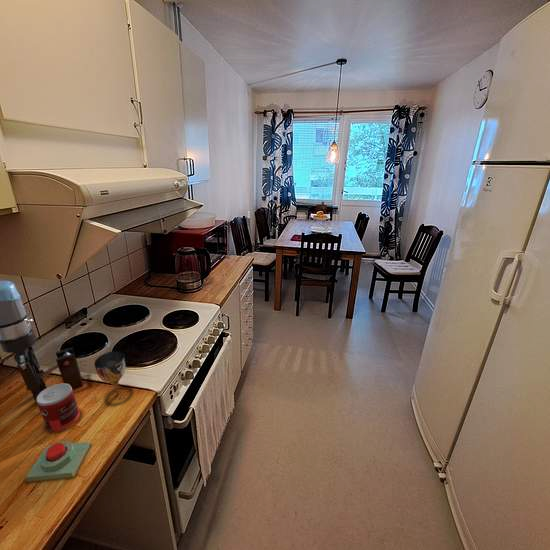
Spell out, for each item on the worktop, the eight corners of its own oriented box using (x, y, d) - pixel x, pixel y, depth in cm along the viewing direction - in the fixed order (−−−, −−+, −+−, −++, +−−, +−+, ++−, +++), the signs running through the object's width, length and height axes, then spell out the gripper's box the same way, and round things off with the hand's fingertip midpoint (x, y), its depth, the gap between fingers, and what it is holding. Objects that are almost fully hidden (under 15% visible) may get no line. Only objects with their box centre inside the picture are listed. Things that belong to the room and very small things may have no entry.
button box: (28, 483, 67) (22, 472, 65) (49, 451, 74) (44, 440, 72) (73, 478, 68) (69, 467, 66) (90, 447, 75) (86, 436, 74)
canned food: (52, 415, 84) (41, 386, 80) (83, 408, 87) (74, 380, 83) (43, 437, 77) (30, 407, 73) (77, 429, 80) (67, 399, 76)
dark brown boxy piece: (61, 399, 90) (48, 364, 85) (60, 386, 95) (48, 352, 90) (90, 388, 94) (80, 354, 89) (88, 376, 99) (78, 343, 94)
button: (44, 462, 68) (42, 457, 67) (53, 448, 71) (51, 443, 70) (60, 460, 68) (58, 455, 67) (69, 447, 71) (67, 442, 71)
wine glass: (130, 404, 88) (121, 365, 83) (102, 410, 86) (90, 370, 81) (134, 386, 95) (126, 349, 90) (108, 391, 93) (98, 353, 88)
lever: (34, 392, 86) (24, 386, 84) (35, 385, 89) (24, 379, 87) (75, 361, 90) (65, 354, 88) (74, 355, 93) (65, 349, 91)
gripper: (31, 343, 76) (57, 408, 85) (33, 317, 89) (56, 376, 98) (-7, 354, 72) (25, 421, 81) (1, 325, 84) (28, 386, 94)
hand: (42, 396), depth 89 cm, fingers closed on lever, 4 cm apart
